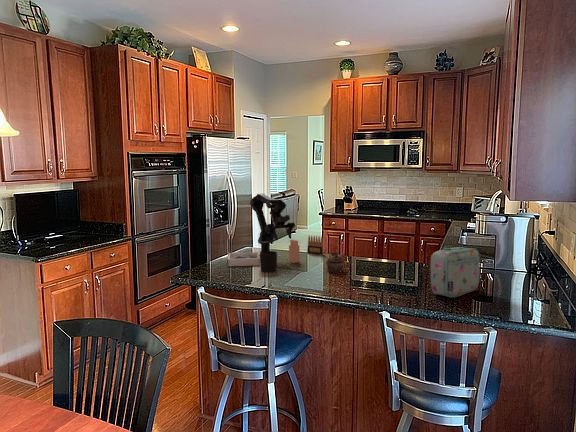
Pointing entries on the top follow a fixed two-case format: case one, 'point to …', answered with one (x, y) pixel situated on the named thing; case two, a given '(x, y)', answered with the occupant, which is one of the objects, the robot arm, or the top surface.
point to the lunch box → (455, 271)
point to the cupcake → (334, 262)
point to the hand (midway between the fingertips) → (283, 239)
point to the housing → (243, 259)
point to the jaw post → (293, 251)
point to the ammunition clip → (315, 245)
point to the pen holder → (268, 261)
